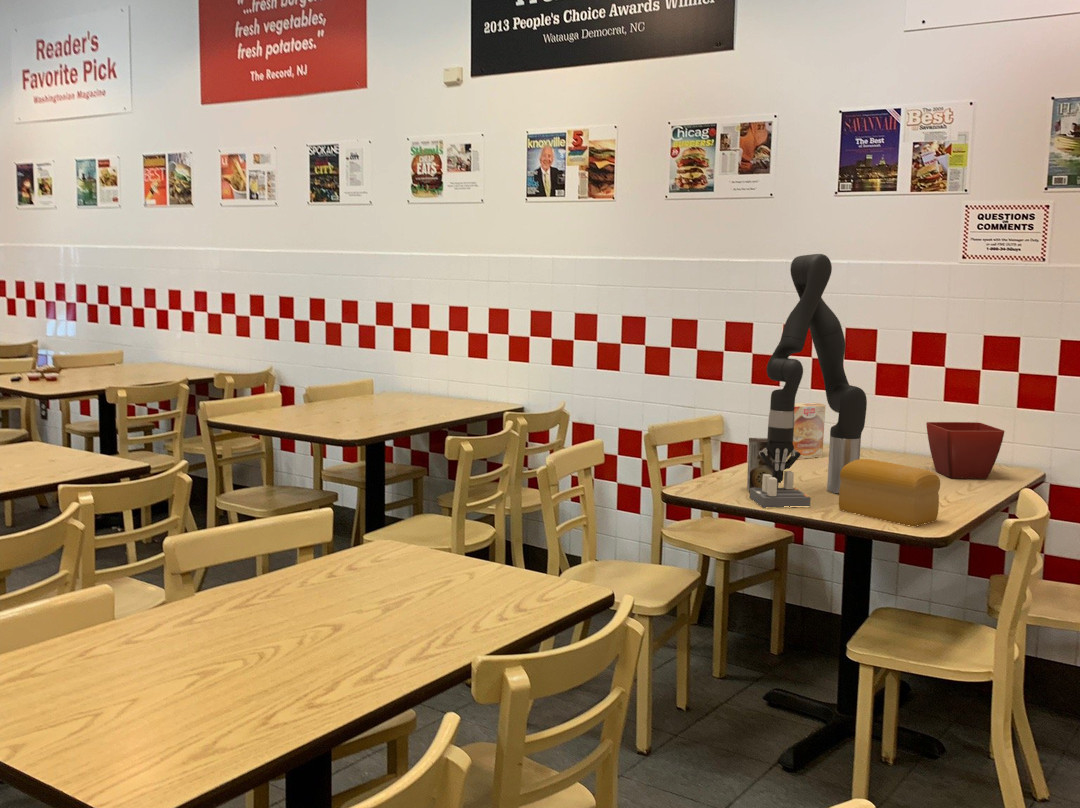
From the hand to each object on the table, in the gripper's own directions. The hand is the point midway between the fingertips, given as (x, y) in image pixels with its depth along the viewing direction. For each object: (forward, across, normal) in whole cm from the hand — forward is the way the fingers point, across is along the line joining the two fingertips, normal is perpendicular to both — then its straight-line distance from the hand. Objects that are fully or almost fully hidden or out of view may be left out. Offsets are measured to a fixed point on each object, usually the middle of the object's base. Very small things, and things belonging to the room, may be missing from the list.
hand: (777, 482), depth 316 cm
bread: (+5, -25, +20) cm, 33 cm away
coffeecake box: (+4, -31, -65) cm, 73 cm away
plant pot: (+4, -76, -32) cm, 82 cm away
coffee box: (+5, 0, -12) cm, 13 cm away
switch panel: (+5, +1, +4) cm, 7 cm away
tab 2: (+2, +5, +9) cm, 10 cm away
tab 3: (+2, -4, 0) cm, 4 cm away
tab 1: (+2, +5, +4) cm, 7 cm away
